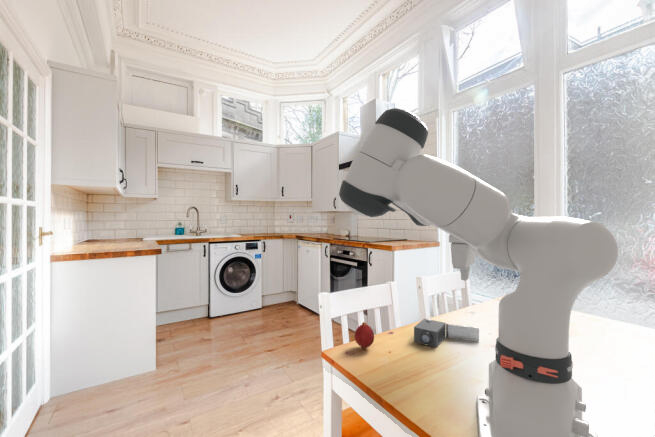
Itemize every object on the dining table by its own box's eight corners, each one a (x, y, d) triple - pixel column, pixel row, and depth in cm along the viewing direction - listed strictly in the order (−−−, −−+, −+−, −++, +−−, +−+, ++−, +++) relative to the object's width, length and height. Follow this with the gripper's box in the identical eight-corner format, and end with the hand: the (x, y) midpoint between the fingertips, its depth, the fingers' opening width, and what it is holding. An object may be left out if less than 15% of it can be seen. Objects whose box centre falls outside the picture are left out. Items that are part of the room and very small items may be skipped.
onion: (355, 343, 90) (355, 317, 90) (374, 345, 89) (374, 319, 89) (353, 352, 85) (353, 324, 85) (373, 354, 83) (373, 325, 84)
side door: (478, 340, 93) (478, 327, 93) (479, 341, 92) (479, 328, 92) (445, 336, 97) (445, 323, 97) (446, 337, 95) (446, 324, 96)
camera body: (435, 349, 87) (435, 331, 87) (412, 343, 91) (412, 326, 91) (445, 336, 96) (445, 321, 96) (424, 331, 100) (424, 316, 100)
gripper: (460, 234, 103) (460, 273, 103) (447, 236, 86) (447, 284, 86) (480, 235, 99) (480, 275, 99) (471, 237, 82) (471, 286, 82)
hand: (464, 279), depth 92 cm, fingers closed
